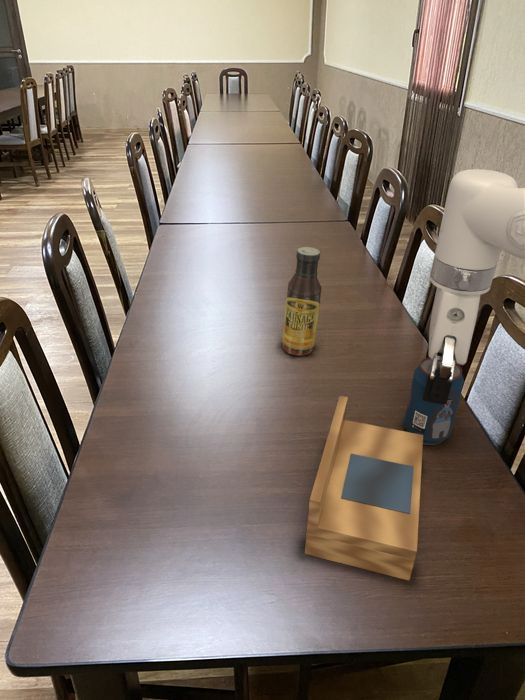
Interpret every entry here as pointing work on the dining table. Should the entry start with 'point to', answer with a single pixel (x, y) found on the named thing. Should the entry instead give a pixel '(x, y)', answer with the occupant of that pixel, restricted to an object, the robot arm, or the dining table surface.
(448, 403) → the soda can
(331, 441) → the wooden block with lip
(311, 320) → the sauce bottle
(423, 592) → the dining table surface
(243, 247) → the dining table surface
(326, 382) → the dining table surface
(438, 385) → the robot arm
